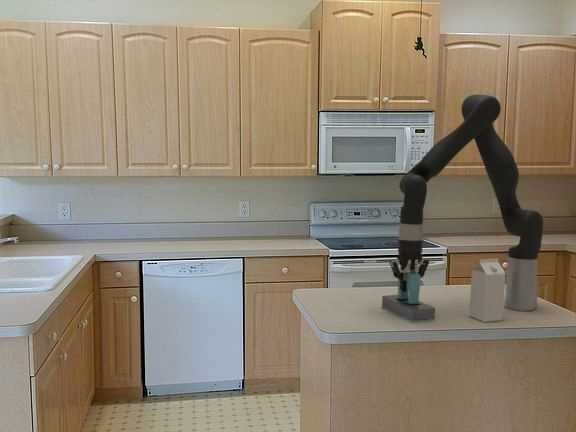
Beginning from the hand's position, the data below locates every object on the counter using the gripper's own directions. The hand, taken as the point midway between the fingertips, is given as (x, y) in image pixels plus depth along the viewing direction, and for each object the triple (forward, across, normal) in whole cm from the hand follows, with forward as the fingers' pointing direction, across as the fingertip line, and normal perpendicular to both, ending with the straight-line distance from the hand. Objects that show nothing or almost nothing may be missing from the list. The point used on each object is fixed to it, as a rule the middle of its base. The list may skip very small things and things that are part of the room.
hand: (408, 291), depth 182 cm
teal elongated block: (+3, 0, 0) cm, 3 cm away
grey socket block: (+8, 0, 0) cm, 8 cm away
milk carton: (+8, -21, +12) cm, 25 cm away
